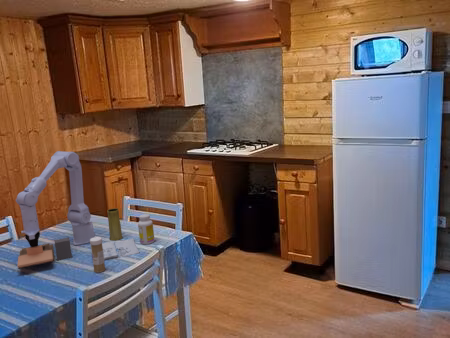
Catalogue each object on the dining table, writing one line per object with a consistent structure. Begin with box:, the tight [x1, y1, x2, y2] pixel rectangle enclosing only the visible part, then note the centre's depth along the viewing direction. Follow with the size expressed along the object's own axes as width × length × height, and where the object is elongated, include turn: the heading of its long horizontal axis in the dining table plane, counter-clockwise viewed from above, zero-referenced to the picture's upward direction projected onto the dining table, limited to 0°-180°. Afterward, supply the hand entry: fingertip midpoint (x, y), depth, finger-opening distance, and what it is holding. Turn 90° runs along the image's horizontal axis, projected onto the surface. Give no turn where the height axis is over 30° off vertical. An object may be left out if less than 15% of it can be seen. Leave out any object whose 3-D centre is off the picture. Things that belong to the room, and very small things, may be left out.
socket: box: [18, 243, 55, 269], centre depth 186 cm, size 14×20×3 cm
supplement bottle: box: [137, 213, 155, 245], centre depth 194 cm, size 7×7×13 cm
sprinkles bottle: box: [89, 236, 106, 274], centre depth 167 cm, size 5×5×14 cm
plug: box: [53, 237, 73, 262], centre depth 183 cm, size 6×4×8 cm, turn 114°
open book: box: [90, 238, 140, 261], centre depth 188 cm, size 19×20×2 cm
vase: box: [106, 207, 124, 242], centre depth 201 cm, size 6×6×14 cm
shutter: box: [16, 244, 54, 269], centre depth 174 cm, size 13×11×4 cm
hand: (35, 250), depth 180 cm, fingers closed
